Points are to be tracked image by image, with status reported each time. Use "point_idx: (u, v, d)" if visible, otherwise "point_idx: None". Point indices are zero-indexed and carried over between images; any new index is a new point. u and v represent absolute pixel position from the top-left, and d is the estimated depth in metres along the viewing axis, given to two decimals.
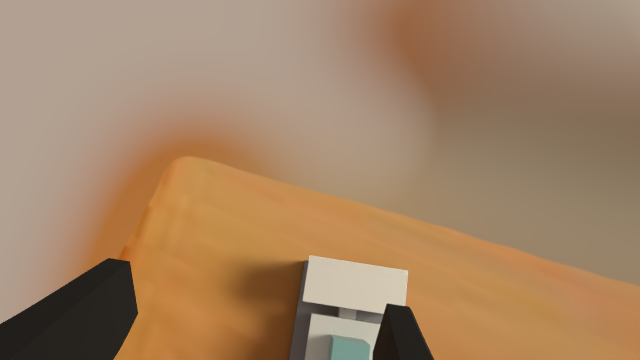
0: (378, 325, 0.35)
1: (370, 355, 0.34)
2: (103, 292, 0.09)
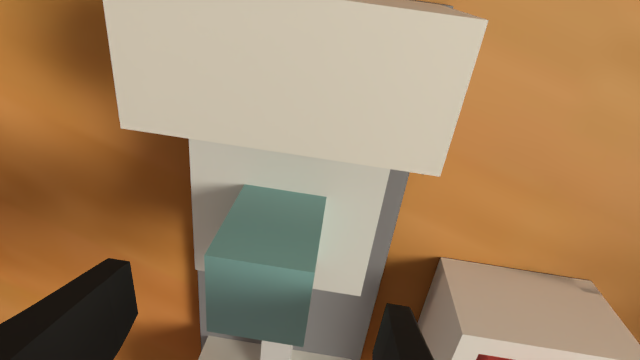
0: (367, 167, 0.13)
1: (343, 227, 0.14)
2: (103, 292, 0.09)
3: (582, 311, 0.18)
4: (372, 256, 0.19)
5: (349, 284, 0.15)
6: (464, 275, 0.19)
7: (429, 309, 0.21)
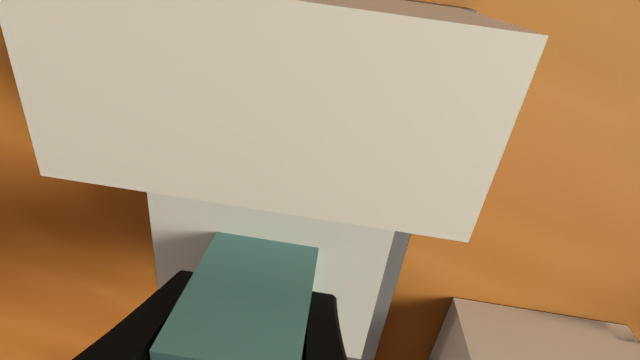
0: None
1: (339, 283, 0.11)
2: None
3: None
4: None
5: (347, 346, 0.13)
6: (480, 320, 0.17)
7: (440, 356, 0.18)
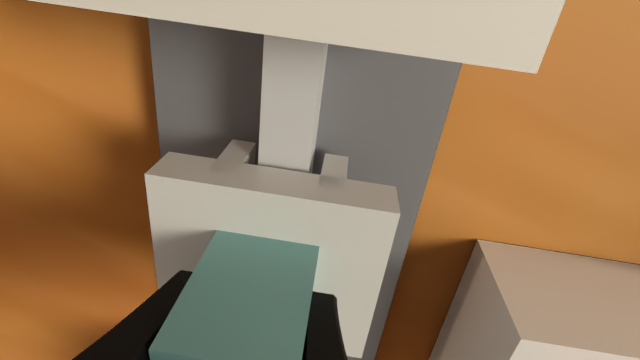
0: (371, 213, 0.10)
1: (340, 281, 0.11)
2: None
3: None
4: None
5: (347, 344, 0.13)
6: (509, 261, 0.15)
7: (462, 305, 0.16)
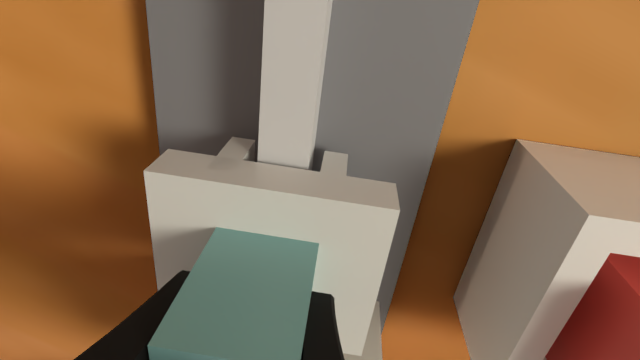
0: (370, 209, 0.10)
1: (340, 279, 0.11)
2: None
3: None
4: (418, 130, 0.13)
5: (347, 342, 0.13)
6: (557, 157, 0.13)
7: (498, 219, 0.14)
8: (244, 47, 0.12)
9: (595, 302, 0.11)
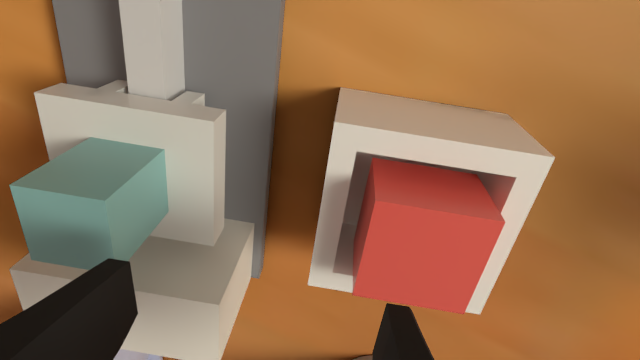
0: (194, 121, 0.14)
1: (185, 179, 0.16)
2: (103, 292, 0.09)
3: (486, 125, 0.16)
4: (259, 77, 0.17)
5: (201, 234, 0.17)
6: (361, 97, 0.17)
7: None
8: None
9: (366, 196, 0.15)
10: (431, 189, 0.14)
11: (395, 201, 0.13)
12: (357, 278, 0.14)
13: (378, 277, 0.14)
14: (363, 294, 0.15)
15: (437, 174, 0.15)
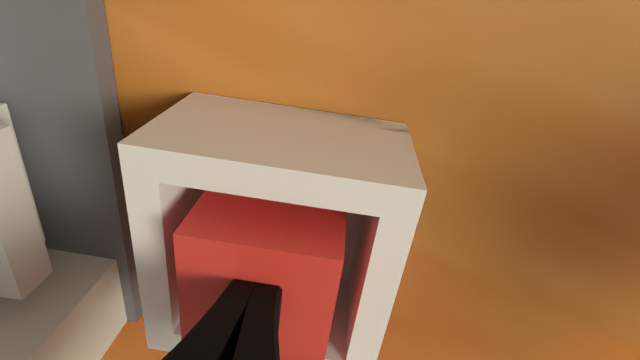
0: None
1: None
2: (244, 315, 0.09)
3: (360, 141, 0.12)
4: (78, 80, 0.13)
5: (2, 286, 0.13)
6: (208, 105, 0.13)
7: None
8: None
9: None
10: (268, 215, 0.11)
11: (201, 234, 0.10)
12: (181, 329, 0.11)
13: None
14: None
15: None
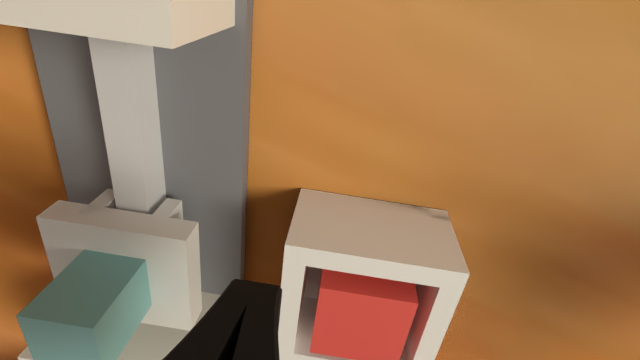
0: (169, 240, 0.17)
1: (164, 281, 0.18)
2: (244, 315, 0.09)
3: (421, 232, 0.18)
4: (228, 184, 0.20)
5: (180, 322, 0.20)
6: (316, 202, 0.20)
7: None
8: None
9: (321, 272, 0.20)
10: None
11: (335, 287, 0.17)
12: (312, 340, 0.18)
13: (328, 340, 0.18)
14: (317, 351, 0.19)
15: None
